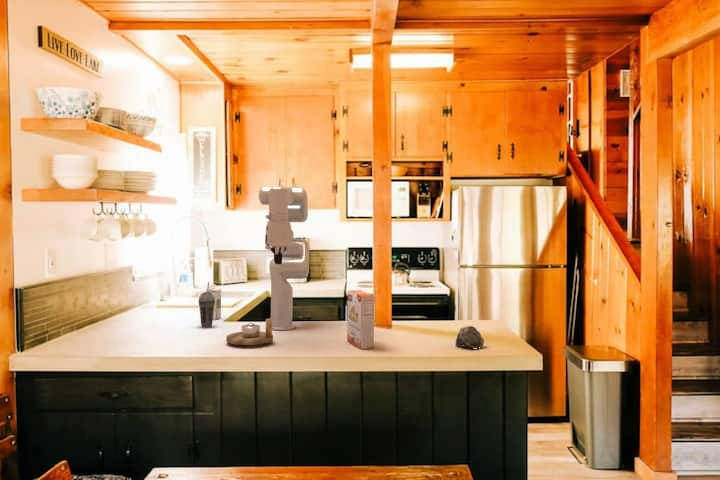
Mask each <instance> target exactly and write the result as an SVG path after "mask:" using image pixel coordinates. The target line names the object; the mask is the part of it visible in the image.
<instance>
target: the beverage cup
mask: <svg viewBox="0 0 720 480" xmlns="http://www.w3.org/2000/svg"><path fill="white" fill-rule="evenodd" d="M209 286H210V281H208V282H207V288H206V290H207V292H206V291H204V292H203V293H201V294H200V295H199V297H198V307H199V316H200V325H201V328H204V329H208V328H209V329H210V328H212V327H213V321H214V320H213V311H214V304H215V298H214V296H213V294H212V293H210V292H208V290H209V289H210V287H209Z"/></svg>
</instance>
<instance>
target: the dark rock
mask: <svg viewBox="0 0 720 480" xmlns="http://www.w3.org/2000/svg"><path fill="white" fill-rule="evenodd" d="M484 340H485V339H484V338H483V337H482V334H481V332H480V331H479V330H478V329H477V328H476V327H475V326H473V325H468V326H467V325H466V326H465V327H461V328H460V329H459V331H458V334H457V337H456V339H455V347H456V346H459V347H462V346H465V347H467V348H468V349H470V348H479V347H481V348H482V347H483V346H484V344H485V341H484Z"/></svg>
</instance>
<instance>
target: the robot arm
mask: <svg viewBox="0 0 720 480" xmlns="http://www.w3.org/2000/svg"><path fill="white" fill-rule="evenodd" d="M258 199H259V202H260V204H261V205H265V206H268V214H267V215H265V219H268V221H267V222H266V228H265V235H264V236H265V237H264V244H265V247H264V248H265V250H269V251H270V252H272V254H273V258H272V259H271V260H270V261H269V266H268V267H269V275H270V318H269V319H272V331H288V330H289V331H291V330H294V329H296V327H297V326H296V324H295V323H293V303H294V302H293V297H294V296H293V294H294V293H293V292H294V291H293V286H292V284H291V283H290V282H289V279H290V280H293V279H294V280H299V279H300V280H303V279H306V278H307V277H308V276H309V273H310V272H309V271H310V245H309V242H308V241H307V240H306V239H303V238H295V237H294V235H295V234H294V231H293V229H292V225H291V223H305V222H306V221H307V220H308V215H309V213H308V212H309V208H308V206H309V205H308V194H307V191H306V189H305V188H304V187H301V186H299V187H298V186H297V187H296V186H294V187H292V186H283V185H282V186H281V185H277V186H272V185H271V186H270V185H269V186H261V187H260V189H259V192H258Z"/></svg>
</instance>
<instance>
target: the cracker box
mask: <svg viewBox="0 0 720 480" xmlns="http://www.w3.org/2000/svg"><path fill="white" fill-rule="evenodd" d="M346 311H347V313H346V314H347V316H346V317H347V319H346V322H347V324H346V325H347V326H346V327H347V330H346V341H347V342H348V343H349V344H351V345H353V346H354V347H356V348H358V349H359V350H367V349H373V348H375V347H374V343H375V342H374V339H375V330H374V329H375V295H374V294H372V293H369V292H365V291H363V290H360V289H359V290H358V289H357V290H347V310H346Z"/></svg>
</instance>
